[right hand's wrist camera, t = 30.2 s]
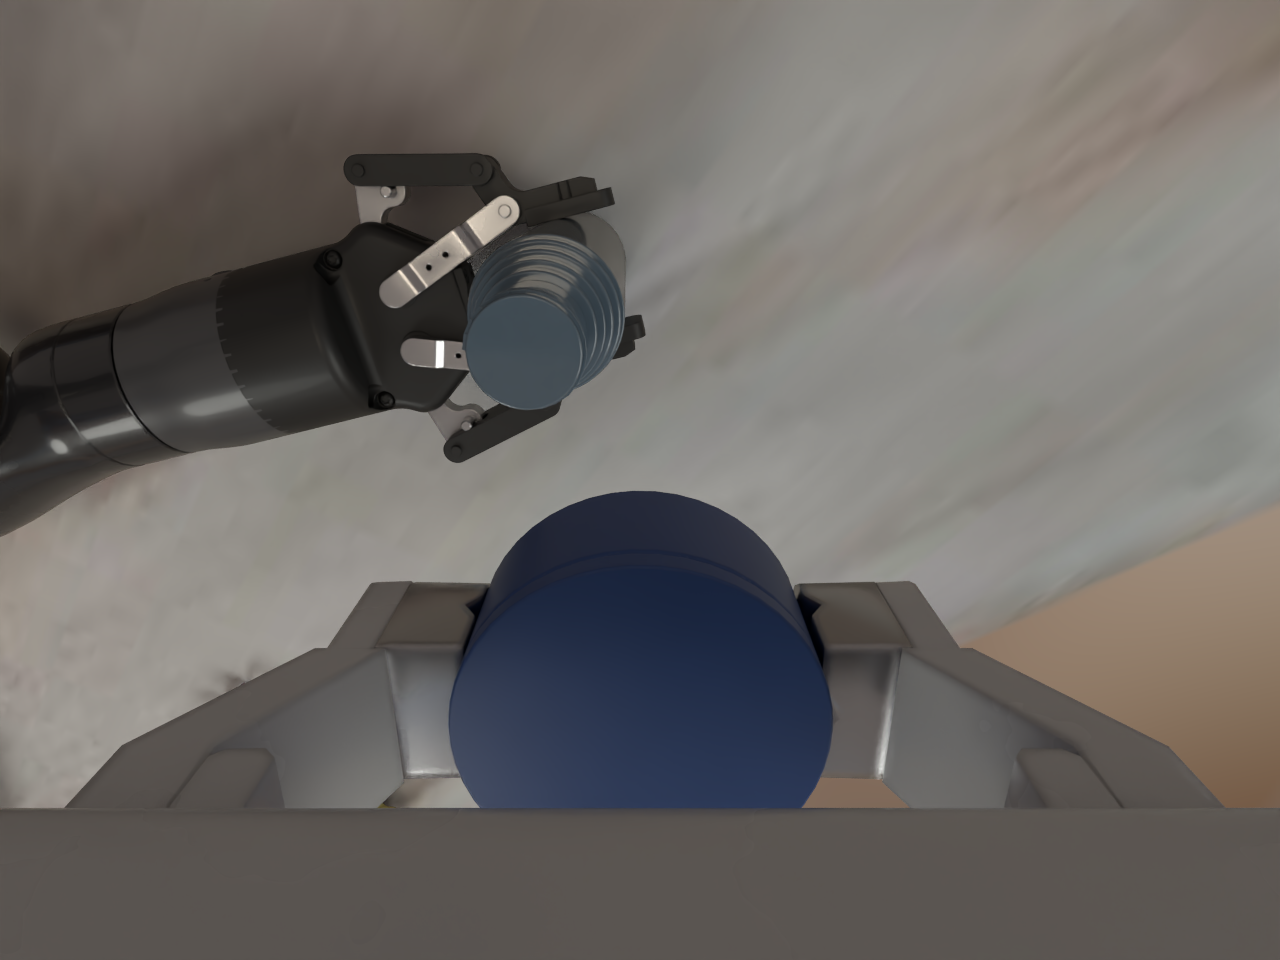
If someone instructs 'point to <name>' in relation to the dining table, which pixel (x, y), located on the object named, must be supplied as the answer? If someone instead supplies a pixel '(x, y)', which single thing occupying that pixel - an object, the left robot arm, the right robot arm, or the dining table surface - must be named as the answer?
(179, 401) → the left robot arm
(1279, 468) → the dining table surface
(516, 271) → the bottle
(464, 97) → the dining table surface
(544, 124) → the dining table surface
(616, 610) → the cap
